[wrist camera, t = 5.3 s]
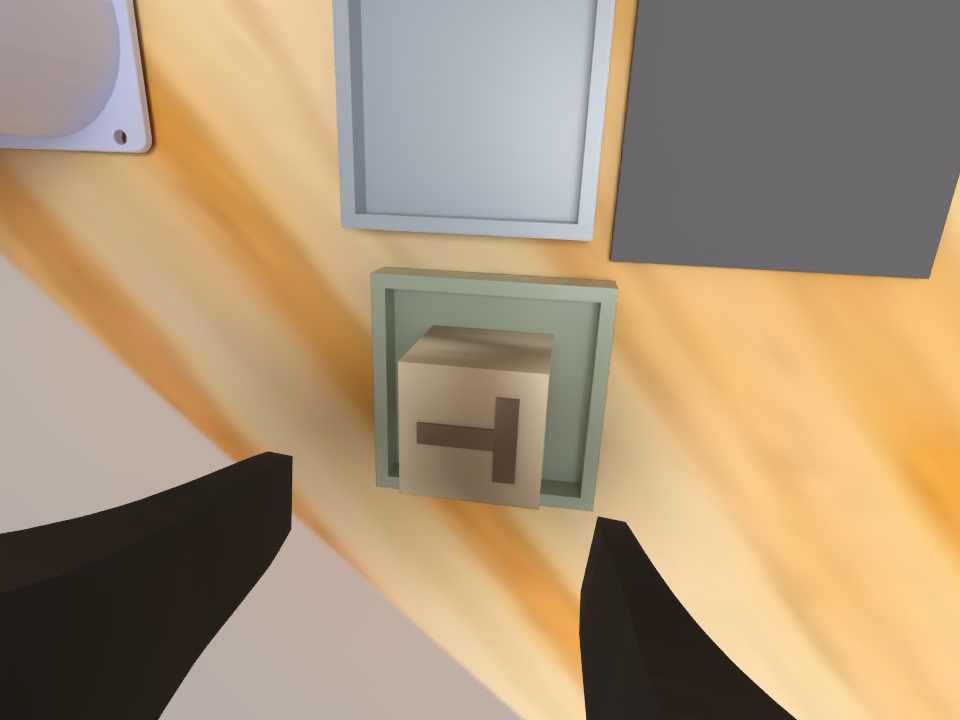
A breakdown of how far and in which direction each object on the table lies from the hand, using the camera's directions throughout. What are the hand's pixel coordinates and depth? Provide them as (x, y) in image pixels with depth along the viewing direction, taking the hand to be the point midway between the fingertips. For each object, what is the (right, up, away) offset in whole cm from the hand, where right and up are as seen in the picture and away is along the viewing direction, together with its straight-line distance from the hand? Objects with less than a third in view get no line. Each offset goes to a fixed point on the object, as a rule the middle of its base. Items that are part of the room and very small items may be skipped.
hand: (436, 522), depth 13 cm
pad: (+11, +12, +4) cm, 16 cm away
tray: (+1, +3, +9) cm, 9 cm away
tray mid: (+1, +12, +6) cm, 14 cm away
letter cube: (+1, +3, +8) cm, 9 cm away
